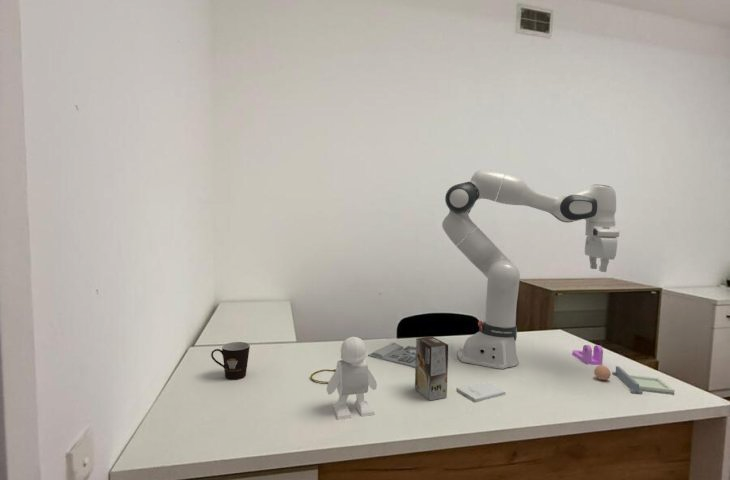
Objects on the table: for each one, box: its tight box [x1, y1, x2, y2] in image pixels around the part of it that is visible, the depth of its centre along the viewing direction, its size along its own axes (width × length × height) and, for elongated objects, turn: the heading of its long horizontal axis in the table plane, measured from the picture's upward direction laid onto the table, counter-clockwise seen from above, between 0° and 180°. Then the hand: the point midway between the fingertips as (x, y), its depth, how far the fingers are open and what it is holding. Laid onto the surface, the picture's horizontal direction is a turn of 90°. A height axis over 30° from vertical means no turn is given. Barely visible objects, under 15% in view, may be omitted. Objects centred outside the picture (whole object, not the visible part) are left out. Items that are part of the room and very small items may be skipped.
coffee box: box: [414, 336, 449, 401], centre depth 116 cm, size 9×6×16 cm
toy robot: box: [326, 336, 377, 420], centre depth 105 cm, size 14×9×20 cm, turn 107°
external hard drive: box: [455, 381, 506, 403], centre depth 118 cm, size 2×8×12 cm
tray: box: [628, 374, 675, 395], centre depth 127 cm, size 10×10×1 cm
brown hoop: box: [309, 368, 336, 385], centre depth 127 cm, size 12×16×2 cm
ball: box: [593, 364, 612, 381], centre depth 131 cm, size 5×5×5 cm
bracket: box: [572, 344, 604, 366], centre depth 152 cm, size 13×6×7 cm, turn 179°
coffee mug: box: [210, 341, 251, 381], centre depth 125 cm, size 12×9×10 cm
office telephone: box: [367, 342, 416, 369], centre depth 150 cm, size 23×3×20 cm
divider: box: [611, 365, 643, 395], centre depth 128 cm, size 3×16×3 cm, turn 166°
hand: (598, 270), depth 135 cm, fingers open, 8 cm apart
